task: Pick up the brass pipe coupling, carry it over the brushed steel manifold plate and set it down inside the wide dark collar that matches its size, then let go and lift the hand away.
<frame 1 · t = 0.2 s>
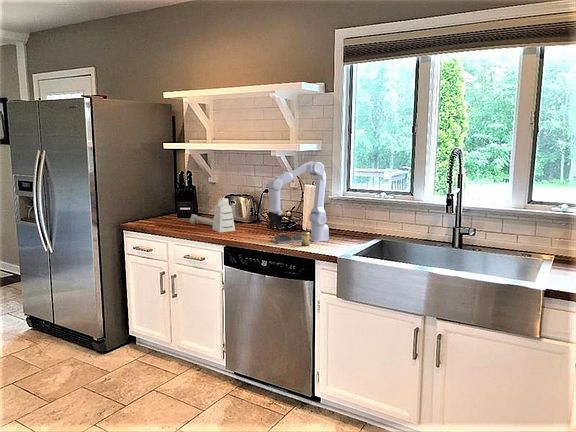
hand: (275, 226, 255), 10 cm above the countertop, tool pointing down, fingers open, 7 cm apart
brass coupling: (305, 245, 256), on the countertop
grey flared rod: (204, 225, 317), on the countertop
grater: (223, 230, 298), on the countertop
manifold plate: (289, 240, 267), on the countertop
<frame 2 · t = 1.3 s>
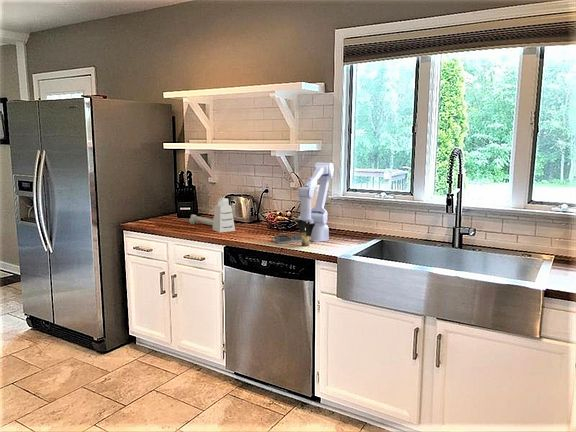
hand: (305, 235, 255), 6 cm above the countertop, tool pointing down, fingers open, 7 cm apart
nothing on the countertop moved.
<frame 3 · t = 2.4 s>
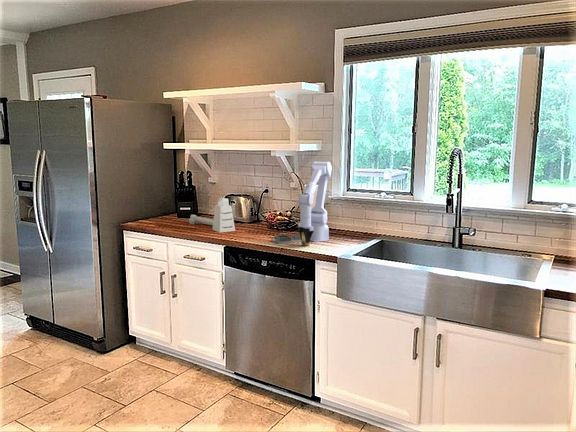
hand: (305, 241, 255), 2 cm above the countertop, tool pointing down, fingers closed on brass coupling, 4 cm apart
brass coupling: (305, 245, 256), on the countertop, touching gripper
everything else where it was.
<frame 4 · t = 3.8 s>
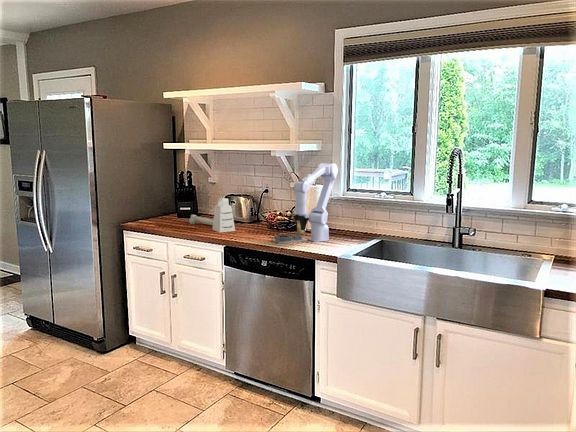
hand: (300, 229, 256), 8 cm above the countertop, tool pointing down, fingers closed on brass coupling, 4 cm apart
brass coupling: (301, 233, 256), point 6 cm above the countertop, touching gripper
everything else where it was.
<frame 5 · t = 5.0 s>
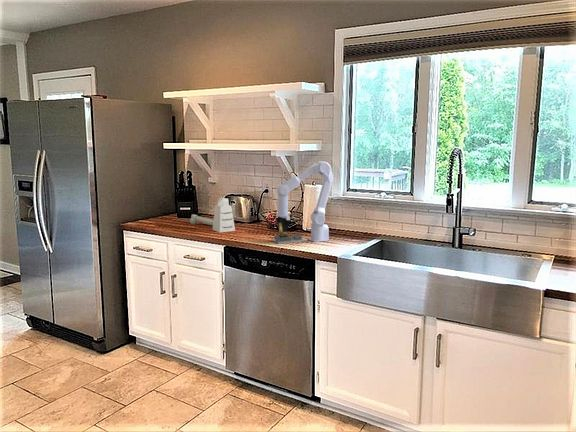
hand: (282, 231, 264), 6 cm above the countertop, tool pointing down, fingers closed on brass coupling, 4 cm apart
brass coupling: (283, 235, 264), point 3 cm above the countertop, touching gripper
everything else where it was.
when the fingers open (4 cm above the countertop, at t = 5.7 s): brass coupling stays where it is, resting on manifold plate.
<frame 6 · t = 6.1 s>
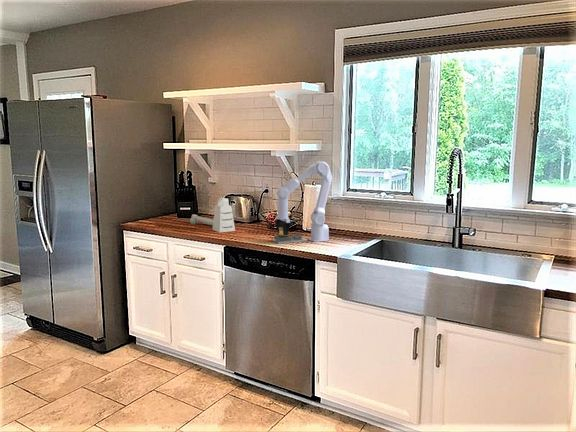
hand: (282, 233, 265), 4 cm above the countertop, tool pointing down, fingers open, 7 cm apart
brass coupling: (283, 239, 265), point 1 cm above the countertop, touching manifold plate
everything else where it was.
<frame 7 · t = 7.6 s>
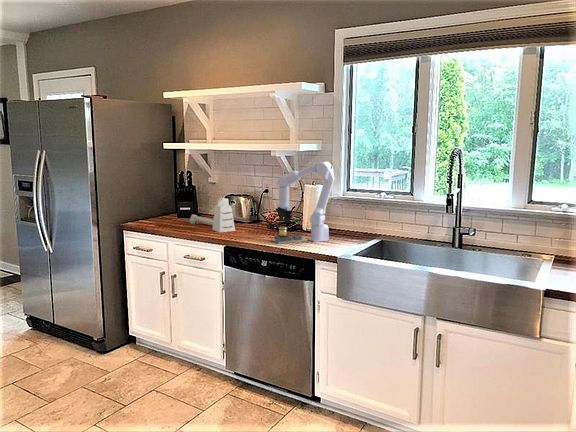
hand: (283, 221, 275), 9 cm above the countertop, tool pointing down, fingers open, 7 cm apart
nothing on the countertop moved.
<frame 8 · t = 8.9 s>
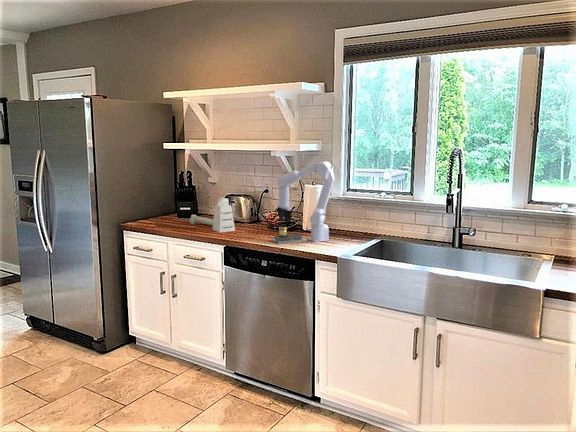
hand: (283, 221, 275), 9 cm above the countertop, tool pointing down, fingers open, 7 cm apart
nothing on the countertop moved.
at the end: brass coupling 0.2 cm from the target spot on the manifold plate, point 1.0 cm above the manifold plate's base; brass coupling tilted 0°; the gripper is holding nothing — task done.
